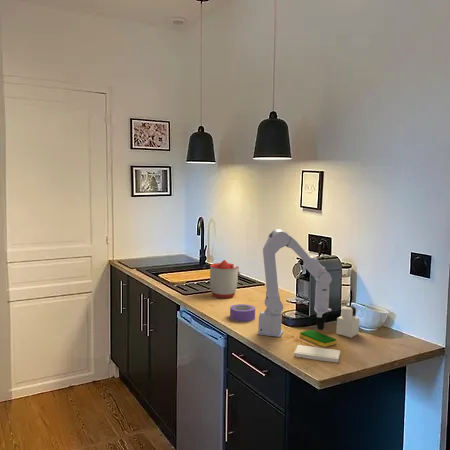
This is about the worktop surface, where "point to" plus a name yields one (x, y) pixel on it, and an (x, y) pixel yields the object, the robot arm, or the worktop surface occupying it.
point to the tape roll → (242, 312)
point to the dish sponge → (318, 338)
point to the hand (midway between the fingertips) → (320, 329)
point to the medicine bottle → (347, 322)
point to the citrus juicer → (223, 279)
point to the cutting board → (317, 353)
